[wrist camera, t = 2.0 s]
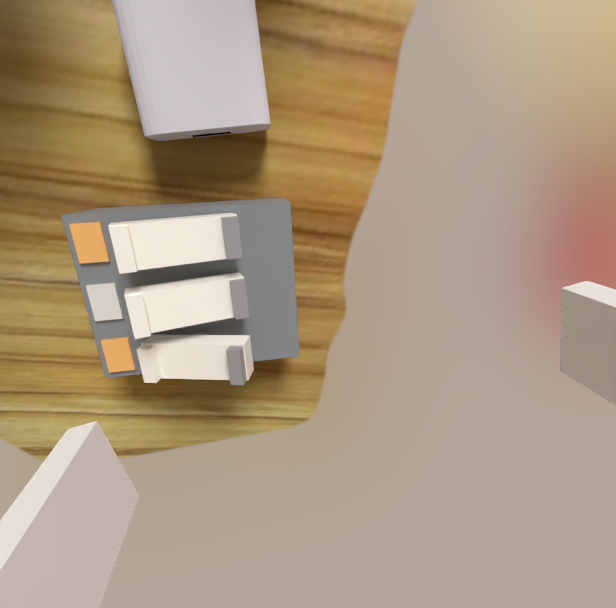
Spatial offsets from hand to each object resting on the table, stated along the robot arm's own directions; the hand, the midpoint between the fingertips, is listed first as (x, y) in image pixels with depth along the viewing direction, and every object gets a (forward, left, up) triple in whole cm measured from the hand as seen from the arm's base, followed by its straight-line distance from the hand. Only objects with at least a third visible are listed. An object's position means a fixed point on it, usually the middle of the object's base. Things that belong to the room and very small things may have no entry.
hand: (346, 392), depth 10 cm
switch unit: (-7, -3, -25) cm, 27 cm away
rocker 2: (-7, -3, -17) cm, 19 cm away
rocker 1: (-7, +2, -17) cm, 19 cm away
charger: (-5, +17, -26) cm, 31 cm away
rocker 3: (-7, -7, -17) cm, 20 cm away
